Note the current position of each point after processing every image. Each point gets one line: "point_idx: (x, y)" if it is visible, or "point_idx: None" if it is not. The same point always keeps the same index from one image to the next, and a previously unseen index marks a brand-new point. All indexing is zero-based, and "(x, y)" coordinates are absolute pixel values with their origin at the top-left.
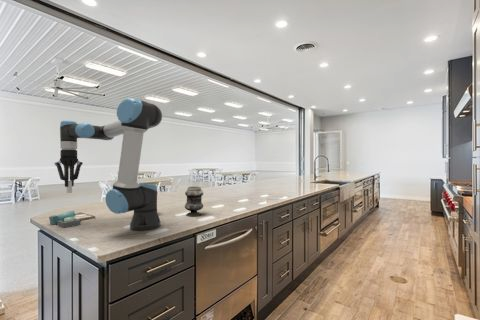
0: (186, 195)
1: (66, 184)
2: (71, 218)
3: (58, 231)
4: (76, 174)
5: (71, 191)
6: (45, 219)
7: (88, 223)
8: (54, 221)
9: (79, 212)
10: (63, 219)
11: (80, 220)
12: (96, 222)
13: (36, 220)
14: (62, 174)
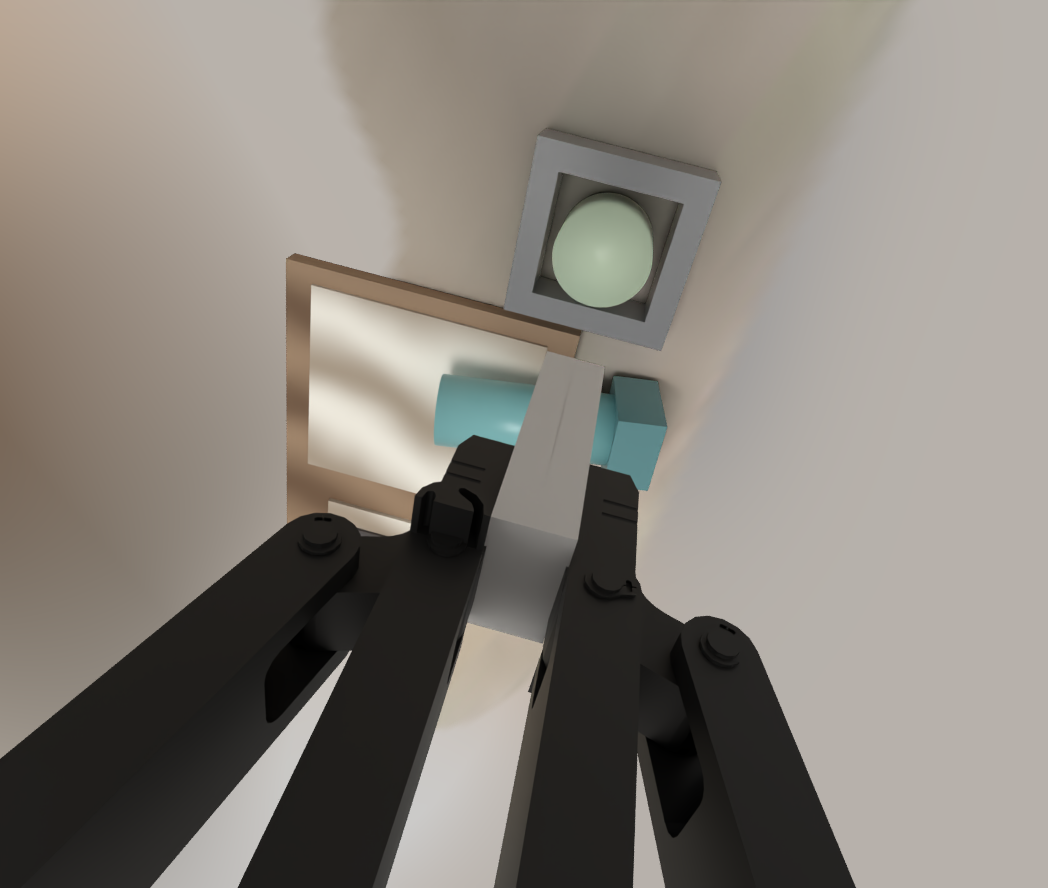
0: None
1: (620, 513)
2: (606, 206)
3: (856, 66)
4: (249, 645)
5: (552, 364)
6: None
7: (472, 83)
8: (652, 395)
9: None
10: None
11: (440, 294)
12: (398, 27)
13: None
14: (771, 820)
